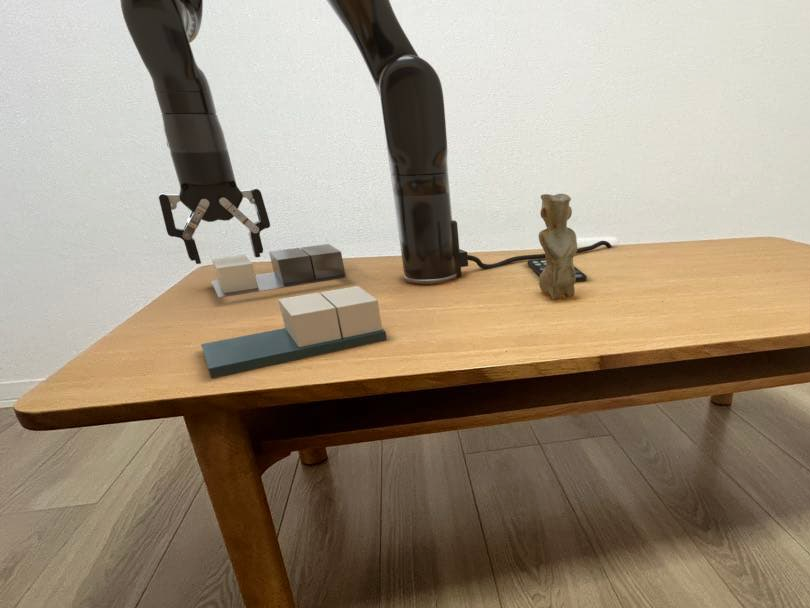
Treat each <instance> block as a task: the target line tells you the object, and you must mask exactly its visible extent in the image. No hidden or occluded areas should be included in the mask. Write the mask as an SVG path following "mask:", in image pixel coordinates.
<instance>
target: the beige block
mask: <svg viewBox="0 0 810 608" xmlns="http://www.w3.org/2000/svg"><path fill="white" fill-rule="evenodd" d="M211 262H212V265H213V268H214V272H215V274H216V278H217V280H218V282H219V284H220V286H221V288H222V290H223V292H224V293H230V292H236V291H243V290H249V289H256V288H258V284H257V280H256V276H255V275H256V273H255V269H254V266H253V263H252V261H251V260H250V259H249V258H248V257H247V255H246V254H238V255H237V254H236V255H231V256H230V255H229V256H221V257H215V258H214V257H213V258H211Z"/></svg>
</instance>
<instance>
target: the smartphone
mask: <svg viewBox="0 0 810 608" xmlns="http://www.w3.org/2000/svg"><path fill="white" fill-rule="evenodd" d="M526 263H527V265H528V266H529V267H530V268H531V270H533V271H534V273H536V274H537V275H538V276H539V277H540V275H541V273H542V271H543V270H544V268H545V267H546V259H532V260H526ZM574 269H575V275H576V281H575V282H584V281H586V280H587V278H588V276H587V275H586V274H585V273H583V272H582V271H581V270H580V269H578V267H576V266H574Z"/></svg>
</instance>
